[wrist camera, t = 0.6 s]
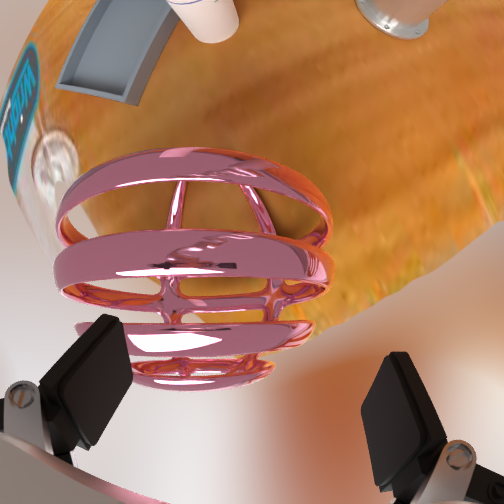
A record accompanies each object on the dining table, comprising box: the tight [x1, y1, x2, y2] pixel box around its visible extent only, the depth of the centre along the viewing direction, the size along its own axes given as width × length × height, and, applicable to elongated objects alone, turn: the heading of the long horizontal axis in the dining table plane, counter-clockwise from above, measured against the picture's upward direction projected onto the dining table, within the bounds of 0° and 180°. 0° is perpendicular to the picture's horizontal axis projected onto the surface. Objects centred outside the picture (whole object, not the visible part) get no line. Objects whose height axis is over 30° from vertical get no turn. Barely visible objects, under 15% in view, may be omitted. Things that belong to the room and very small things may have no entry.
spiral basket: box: [53, 147, 335, 392], centre depth 28 cm, size 28×28×27 cm
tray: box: [55, 0, 180, 106], centre depth 30 cm, size 20×16×4 cm
